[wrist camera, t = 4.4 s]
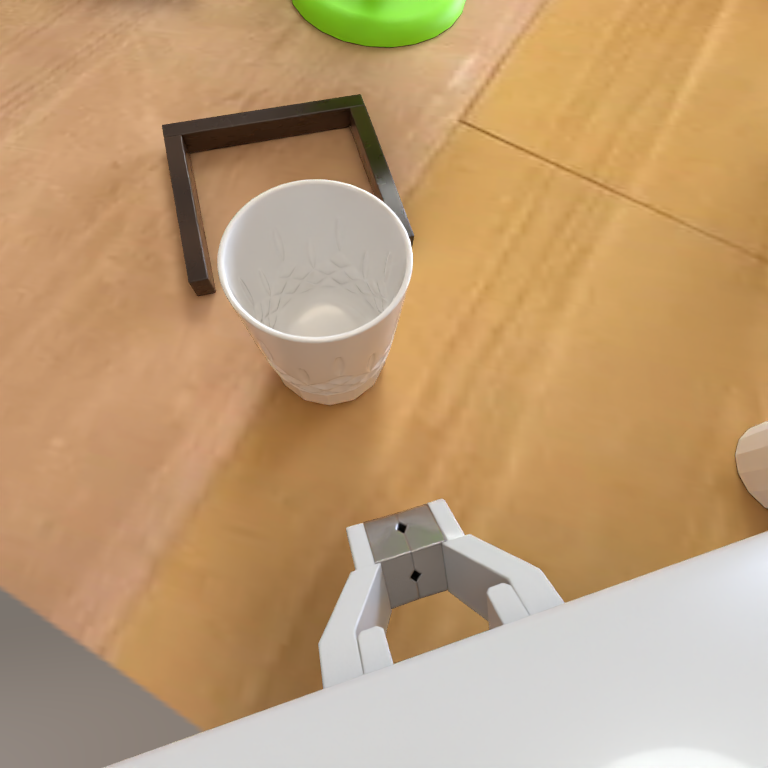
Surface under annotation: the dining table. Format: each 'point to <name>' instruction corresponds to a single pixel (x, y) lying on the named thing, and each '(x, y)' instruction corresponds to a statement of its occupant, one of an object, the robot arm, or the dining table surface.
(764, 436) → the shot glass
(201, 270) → the walnut frame
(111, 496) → the dining table surface
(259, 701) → the dining table surface
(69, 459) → the dining table surface
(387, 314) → the white cup
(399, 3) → the wineglass
